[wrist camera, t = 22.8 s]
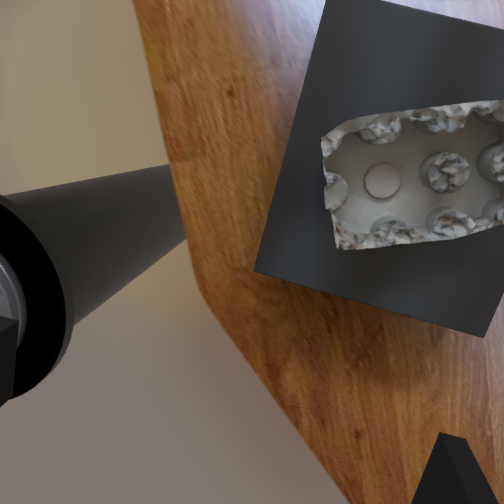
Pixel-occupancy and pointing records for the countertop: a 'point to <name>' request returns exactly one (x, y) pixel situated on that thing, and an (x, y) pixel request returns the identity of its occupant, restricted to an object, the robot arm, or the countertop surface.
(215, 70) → the countertop surface
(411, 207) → the egg carton
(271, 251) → the shelf
